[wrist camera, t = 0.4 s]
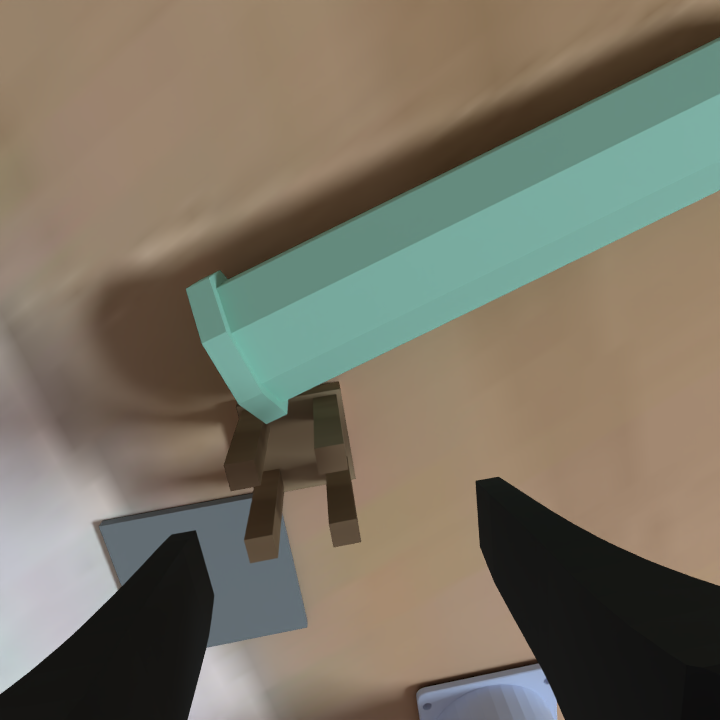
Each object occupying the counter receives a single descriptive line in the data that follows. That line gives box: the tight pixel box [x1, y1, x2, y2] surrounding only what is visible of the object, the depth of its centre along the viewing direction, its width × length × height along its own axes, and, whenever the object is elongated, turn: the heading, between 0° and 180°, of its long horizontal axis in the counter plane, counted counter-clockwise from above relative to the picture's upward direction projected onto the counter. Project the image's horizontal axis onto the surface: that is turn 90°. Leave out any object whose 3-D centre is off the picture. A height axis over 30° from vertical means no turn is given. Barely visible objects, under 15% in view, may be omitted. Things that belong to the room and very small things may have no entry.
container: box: [186, 37, 720, 424], centre depth 17 cm, size 6×6×25 cm
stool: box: [224, 382, 361, 563], centre depth 19 cm, size 4×4×6 cm
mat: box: [99, 493, 307, 648], centre depth 23 cm, size 8×8×1 cm
